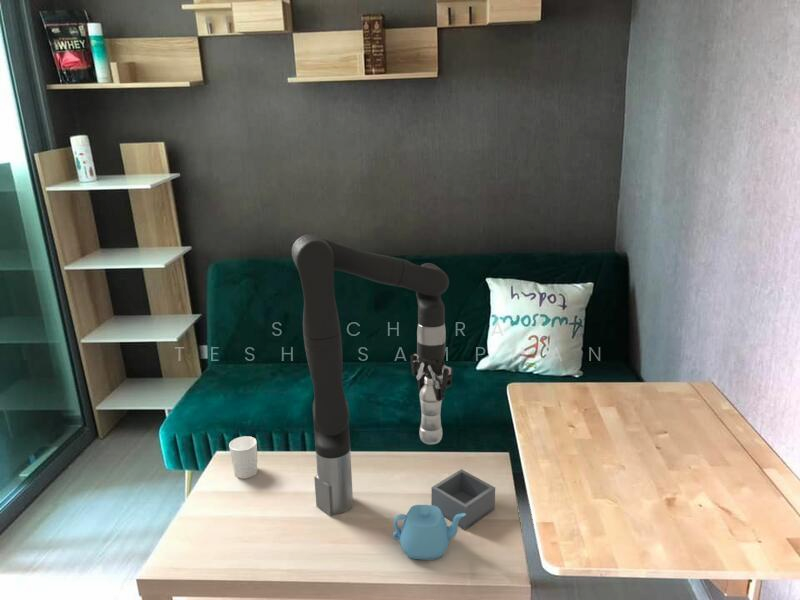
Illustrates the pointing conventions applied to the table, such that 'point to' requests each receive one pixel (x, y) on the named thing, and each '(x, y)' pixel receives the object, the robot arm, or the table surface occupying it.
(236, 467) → the white cup
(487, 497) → the gray square open box
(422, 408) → the plastic bottle
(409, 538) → the teapot
